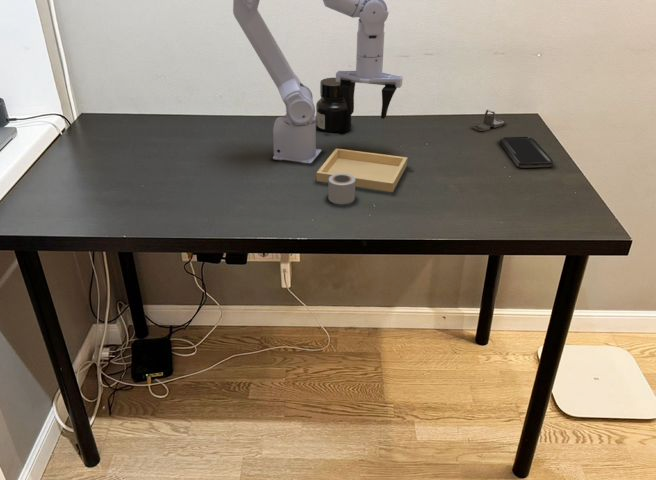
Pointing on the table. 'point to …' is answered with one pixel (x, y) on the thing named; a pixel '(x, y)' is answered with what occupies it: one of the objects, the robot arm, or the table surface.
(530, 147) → the phone
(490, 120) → the strap clip
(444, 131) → the table surface
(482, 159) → the table surface
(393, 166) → the tray
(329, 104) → the ink bottle
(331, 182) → the tape roll
